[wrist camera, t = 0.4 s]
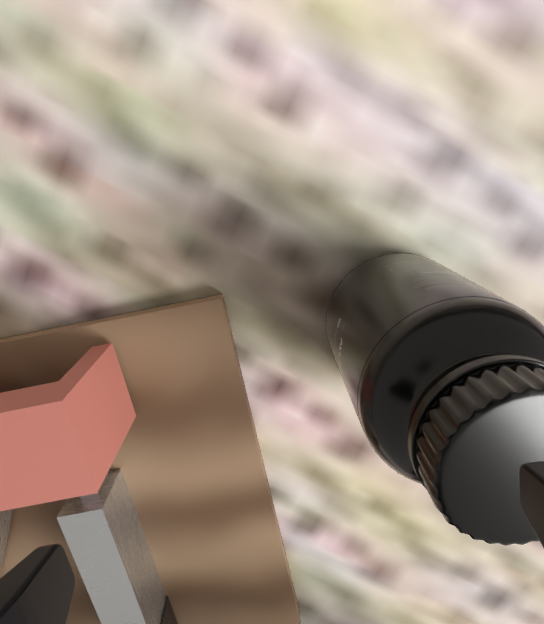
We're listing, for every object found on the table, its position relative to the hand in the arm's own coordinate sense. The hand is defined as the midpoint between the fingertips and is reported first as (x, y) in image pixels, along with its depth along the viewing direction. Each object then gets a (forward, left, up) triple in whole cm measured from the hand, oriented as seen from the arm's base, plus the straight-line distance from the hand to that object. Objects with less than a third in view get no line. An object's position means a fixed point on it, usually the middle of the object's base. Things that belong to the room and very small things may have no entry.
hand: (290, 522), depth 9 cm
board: (-9, +13, -14) cm, 22 cm away
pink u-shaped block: (-2, +12, -13) cm, 18 cm away
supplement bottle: (-2, -6, -14) cm, 16 cm away
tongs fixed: (-10, +11, -13) cm, 20 cm away
